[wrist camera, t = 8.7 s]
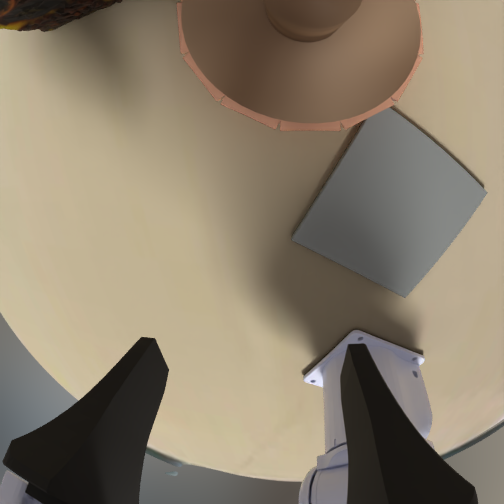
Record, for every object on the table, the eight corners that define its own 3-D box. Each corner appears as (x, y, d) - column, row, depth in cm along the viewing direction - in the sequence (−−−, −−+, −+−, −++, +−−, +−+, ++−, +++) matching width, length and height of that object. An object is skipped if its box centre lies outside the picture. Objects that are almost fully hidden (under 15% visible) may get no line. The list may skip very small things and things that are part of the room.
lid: (438, -5, 8) (489, -25, 4) (358, 157, 13) (388, 193, 9) (240, -88, 6) (222, -136, 2) (157, 76, 12) (104, 79, 8)
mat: (484, 190, 15) (487, 192, 15) (403, 294, 21) (405, 298, 20) (376, 99, 14) (378, 100, 13) (291, 237, 19) (291, 240, 19)
